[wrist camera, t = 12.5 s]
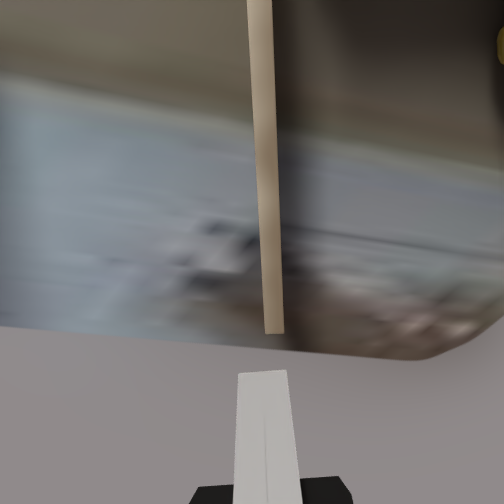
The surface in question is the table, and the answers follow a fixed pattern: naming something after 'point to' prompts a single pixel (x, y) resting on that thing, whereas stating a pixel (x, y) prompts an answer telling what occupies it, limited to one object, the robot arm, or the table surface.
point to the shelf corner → (266, 159)
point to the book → (500, 45)
